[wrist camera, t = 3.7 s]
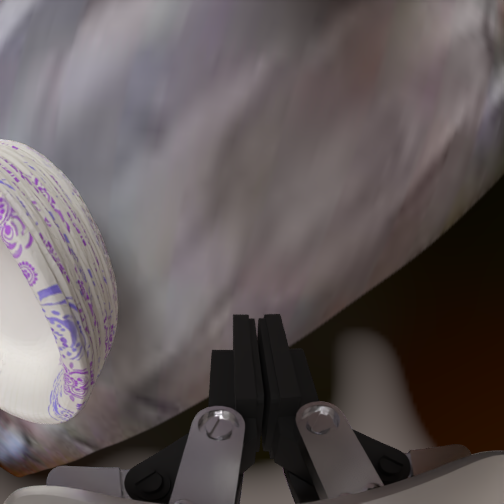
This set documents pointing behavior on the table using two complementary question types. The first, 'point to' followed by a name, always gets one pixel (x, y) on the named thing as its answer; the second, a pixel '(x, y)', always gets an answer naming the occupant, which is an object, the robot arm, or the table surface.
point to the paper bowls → (50, 291)
